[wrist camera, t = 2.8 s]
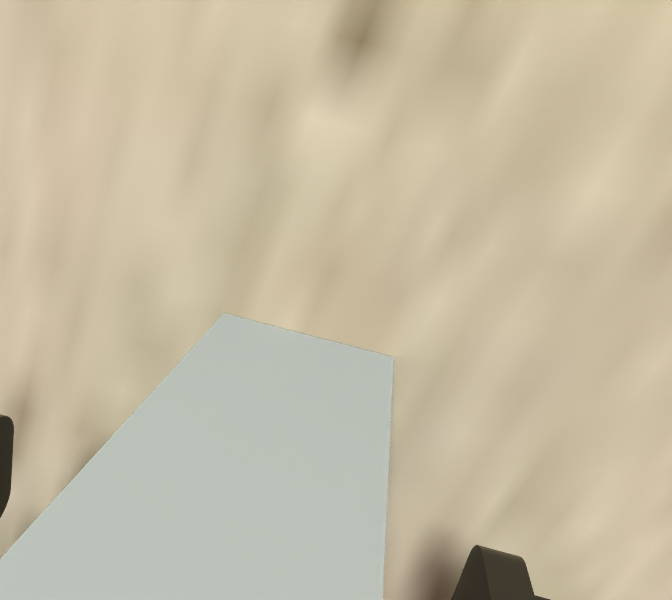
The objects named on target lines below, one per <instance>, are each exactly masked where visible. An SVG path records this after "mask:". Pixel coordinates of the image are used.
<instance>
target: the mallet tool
mask: <svg viewBox="0 0 672 600" xmlns="http://www.w3.org/2000/svg"><path fill="white" fill-rule="evenodd" d="M393 369H394V357H391V356H387V355H383V354H379V353H375V352H371V351H368V350H364V349H360V348H356V347H352V346H348V345H344V344H341V343H337V342H333V341H329V340H325V339H321V338H318V337H314V336H310V335H306V334H302V333H298V332H294V331H291V330H287V329H283V328H279V327H275V326H271V325H268V324H264V323H260V322H256V321H252V320H248V319H244V318H241V317H237V316H233V315H229V314H225V313H224V314H223V315H222V316H221V317H220V318H219V319H218V320H217V321H216V322H215V324H214V325H213V326H212V327H211V328H210V329H209V330H208V331H207V332H206V333H205V335H204V336H203V337H202V338H201V339H200V340H199V341H198V342H197V343H196V344H195V346H194V347H193V348H192V349H191V350H190V351H189V352H188V353H187V354H186V355H185V357H184V358H183V359H182V360H181V361H180V362H179V363H178V364H177V365H176V366H175V367H174V369H173V370H172V371H171V372H170V373H169V374H168V375H167V376H166V377H165V378H164V380H163V381H162V382H161V383H160V384H159V385H158V386H157V387H156V388H155V389H154V391H153V392H152V393H151V394H150V395H149V396H148V397H147V398H146V399H145V400H144V402H143V403H142V404H141V405H140V406H139V407H138V408H137V409H136V410H135V411H134V412H133V414H132V415H131V416H130V417H129V418H128V419H127V420H126V421H125V422H124V423H123V425H122V426H121V427H120V428H119V429H118V430H117V431H116V432H115V433H114V434H113V436H112V437H111V438H110V439H109V440H108V441H107V442H106V443H105V444H104V445H103V447H102V448H101V449H100V450H99V451H98V452H97V453H96V454H95V455H94V456H93V457H92V459H91V460H90V461H89V462H88V463H87V464H86V465H85V466H84V467H83V468H82V470H81V471H80V472H79V473H78V474H77V475H76V476H75V477H74V478H73V479H72V481H71V482H70V483H69V484H68V485H67V486H66V487H65V488H64V489H63V490H62V492H61V493H60V494H59V495H58V496H57V497H56V498H55V499H54V500H53V501H52V502H51V504H50V505H49V506H48V507H47V508H46V509H45V510H44V511H43V512H42V513H41V515H40V516H39V517H38V518H37V519H36V520H35V521H34V522H33V523H32V524H31V526H30V527H29V528H28V529H27V530H26V531H25V532H24V533H23V534H22V535H21V537H20V538H19V539H18V540H17V541H16V542H15V543H14V544H13V545H12V546H11V547H10V549H9V550H8V551H7V552H6V553H5V554H4V555H3V556H2V557H1V558H0V600H383V583H384V561H385V540H386V519H387V497H388V476H389V455H390V433H391V412H392V391H393Z"/></svg>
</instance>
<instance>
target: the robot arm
mask: <svg viewBox="0 0 672 600" xmlns="http://www.w3.org/2000/svg"><path fill="white" fill-rule="evenodd" d="M13 435H14V425H13V422H12V420H11V418H9V417H8V416H4V415H0V517H1V515H2V514H3V512H4V510H5V508H6V505H7V503H8V500H9V496H10V491H11V474H12V455H13ZM451 600H550V599H546V598H542V597H539V596H535V595H534V592H533V589H532V585H531V582H530V578H529V574H528V571H527V567H526V564H525V562H524V560H523V559H522V557H519V556H516V555H512V554H508V553H505V552H501V551H497V550H494V549H490V548H486V547H483V546H479V545H476V546H474V547H473V549H472V550H471V552H470V554H469V556H468V559H467V562H466V564H465V567H464V569H463V572H462V574H461V577H460V579H459V582H458V584H457V587H456V589H455V592H454V594H453V597H452V599H451Z"/></svg>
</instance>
